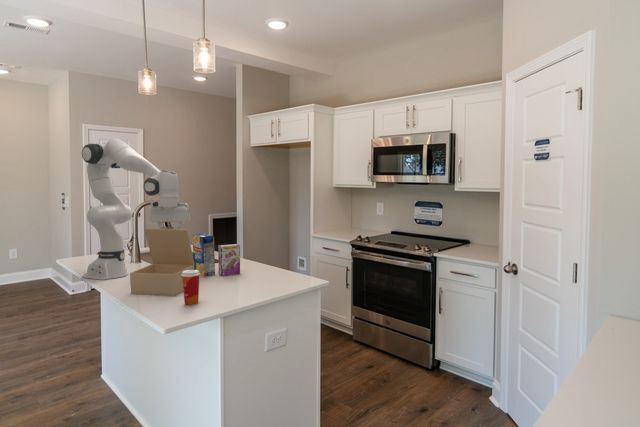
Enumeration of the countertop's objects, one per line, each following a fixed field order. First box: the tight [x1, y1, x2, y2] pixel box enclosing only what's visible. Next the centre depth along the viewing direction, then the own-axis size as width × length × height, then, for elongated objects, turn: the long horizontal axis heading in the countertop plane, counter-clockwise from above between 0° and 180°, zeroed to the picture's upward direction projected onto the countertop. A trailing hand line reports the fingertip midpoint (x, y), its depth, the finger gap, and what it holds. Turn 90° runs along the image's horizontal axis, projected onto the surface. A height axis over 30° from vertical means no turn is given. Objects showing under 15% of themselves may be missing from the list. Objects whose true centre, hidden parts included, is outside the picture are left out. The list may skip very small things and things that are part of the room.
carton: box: [129, 263, 194, 297], centre depth 202 cm, size 22×20×10 cm
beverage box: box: [192, 233, 216, 278], centre depth 231 cm, size 7×11×22 cm, turn 47°
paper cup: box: [181, 270, 200, 306], centre depth 180 cm, size 8×8×14 cm
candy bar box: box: [217, 243, 241, 277], centre depth 231 cm, size 11×5×16 cm, turn 124°
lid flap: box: [143, 226, 194, 265], centre depth 209 cm, size 22×20×5 cm
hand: (170, 230), depth 208 cm, fingers open, 8 cm apart
